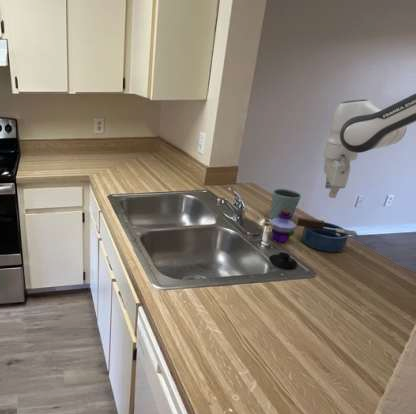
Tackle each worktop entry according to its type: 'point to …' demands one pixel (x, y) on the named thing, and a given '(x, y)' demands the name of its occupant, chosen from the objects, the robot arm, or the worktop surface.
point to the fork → (322, 226)
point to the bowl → (324, 238)
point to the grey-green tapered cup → (283, 202)
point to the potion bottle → (282, 226)
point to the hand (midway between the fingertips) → (329, 192)
